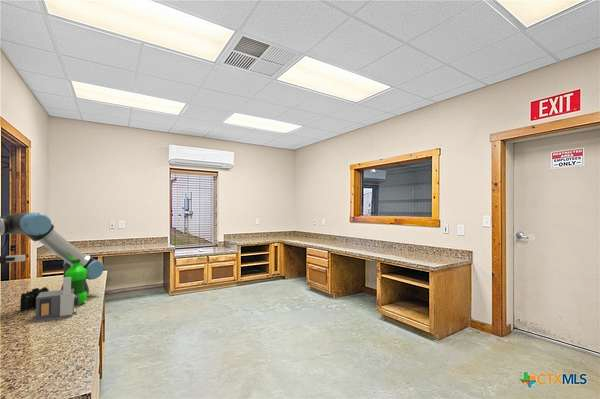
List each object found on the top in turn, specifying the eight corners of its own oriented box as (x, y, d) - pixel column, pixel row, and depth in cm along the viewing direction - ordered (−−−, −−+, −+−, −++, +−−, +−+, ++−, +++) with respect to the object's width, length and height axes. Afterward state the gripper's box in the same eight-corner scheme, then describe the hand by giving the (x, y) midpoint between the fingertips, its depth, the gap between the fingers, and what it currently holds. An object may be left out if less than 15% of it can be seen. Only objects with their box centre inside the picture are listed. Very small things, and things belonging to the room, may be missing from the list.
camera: (34, 312, 159) (34, 293, 159) (17, 311, 160) (17, 292, 161) (59, 304, 172) (59, 286, 173) (43, 303, 174) (43, 285, 174)
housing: (39, 314, 156) (40, 292, 156) (79, 308, 165) (79, 287, 165) (34, 322, 144) (35, 298, 145) (77, 315, 153) (77, 293, 154)
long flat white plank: (60, 315, 150) (61, 277, 151) (72, 313, 153) (73, 276, 154) (59, 316, 149) (60, 278, 150) (72, 314, 152) (73, 277, 153)
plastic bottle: (87, 299, 179) (86, 257, 179) (88, 303, 171) (86, 259, 171) (66, 303, 173) (64, 259, 173) (66, 308, 165) (64, 262, 165)
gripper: (-43, 269, 136) (27, 263, 149) (-56, 274, 125) (21, 268, 138) (-42, 252, 136) (27, 248, 149) (-55, 256, 125) (22, 251, 138)
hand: (24, 257), depth 143 cm, fingers closed
